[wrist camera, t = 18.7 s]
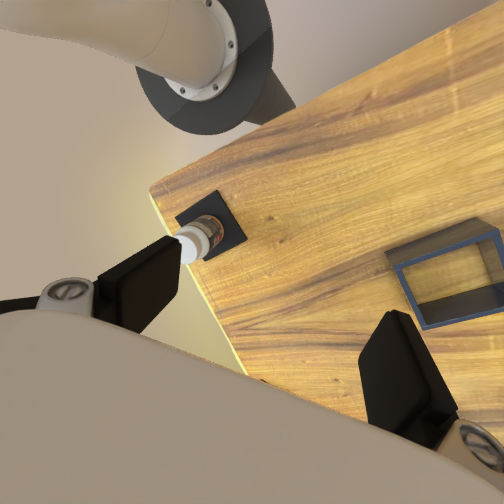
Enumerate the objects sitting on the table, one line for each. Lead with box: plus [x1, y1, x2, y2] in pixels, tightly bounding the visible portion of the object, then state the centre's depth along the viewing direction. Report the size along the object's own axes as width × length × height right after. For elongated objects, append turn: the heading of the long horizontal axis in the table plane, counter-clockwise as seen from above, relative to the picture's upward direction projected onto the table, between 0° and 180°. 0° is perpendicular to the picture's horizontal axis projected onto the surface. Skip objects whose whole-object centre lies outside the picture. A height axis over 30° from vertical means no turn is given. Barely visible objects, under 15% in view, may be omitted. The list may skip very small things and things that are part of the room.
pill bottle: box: [174, 215, 224, 264], centre depth 40 cm, size 6×6×10 cm
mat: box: [175, 190, 247, 262], centre depth 44 cm, size 10×10×1 cm
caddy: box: [384, 218, 504, 331], centre depth 35 cm, size 12×12×5 cm
